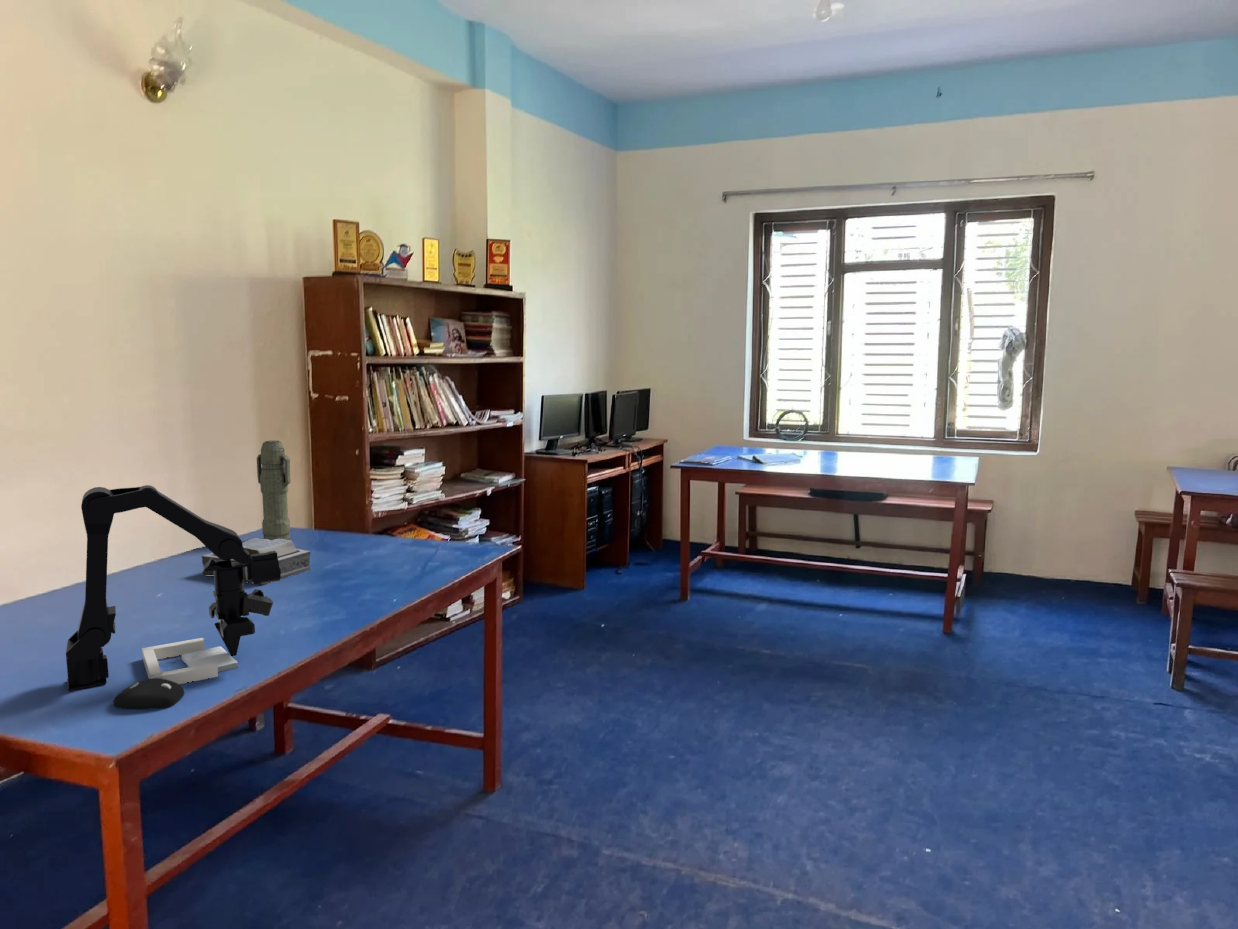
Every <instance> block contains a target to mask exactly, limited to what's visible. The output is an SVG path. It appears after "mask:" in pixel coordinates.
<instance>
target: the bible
mask: <svg viewBox="0 0 1238 929" xmlns="http://www.w3.org/2000/svg"><path fill="white" fill-rule="evenodd" d="M242 544H243V548H244V549H245V550H246V549H247V550H248V552H249V553H250V555H251V554H260V553H267V552H270V551H276V552H277V557H278V562H279V567H280V569H281V580H283V579H282V578H284V579H287V578H289V577H288V576H290V577H292V576H291V575H294V576H296V575H299V574H301V573H300V572H302V573H305V571H306V572H307V570H308V571H310V570H311V565H310V564H311V550H304V549H299V548H296V546H295V544H294V542H293V540H291V539H290V540H285V539H274V540H268V539H264V538H256V537H253V538H251V539H249V540H246V541H242ZM210 558H213V559H214V560H216V561H219V560H222V559H220V558H218V557H217V556H216V555H215V554H214V553H213V552H210V553H207V554H203V555H201V561H202V562H201V563H202V567H203V566H204V565H205V564H206V563H207V562H208V561H209V560H210ZM230 560H231V562H238V561H235V560H233V559H230ZM298 573H299V574H298ZM203 574H204V575H214V571H207V572H206V571H205V569H204V568H203V570H202V575H203ZM295 574H296V575H295ZM286 577H287V578H286ZM245 582H248V583H247V584H250V583H252V582H251V580H249V581H247V580H246V574H245V567H243V583H245ZM268 583H269V584H272V583H271V582H268ZM268 583H261V585H260V586H265V585H269V584H268Z"/></svg>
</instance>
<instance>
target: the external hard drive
mask: <svg viewBox="0 0 1238 929" xmlns="http://www.w3.org/2000/svg"><path fill="white" fill-rule="evenodd" d="M233 657H234V656H231V655H230V653H229V652H228V651H226V649H224V648H223V647H222V646H215V647H214V646H213V647H210V648H205V650H200V651H196V652H191V653H186V654H183V655H181V660H182V661H183V663H186V664H187V665H188V666H187V665H186V664H185V665H186V666H187V667H193V666H198V665H203V664H208V663H213V662H216V663H217V666H218V673H220V672H219V671H221V672H223V671H224V672H225V671H229V670H234V669H237V668H239V662H238V661H237V660H236V658H233Z"/></svg>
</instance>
